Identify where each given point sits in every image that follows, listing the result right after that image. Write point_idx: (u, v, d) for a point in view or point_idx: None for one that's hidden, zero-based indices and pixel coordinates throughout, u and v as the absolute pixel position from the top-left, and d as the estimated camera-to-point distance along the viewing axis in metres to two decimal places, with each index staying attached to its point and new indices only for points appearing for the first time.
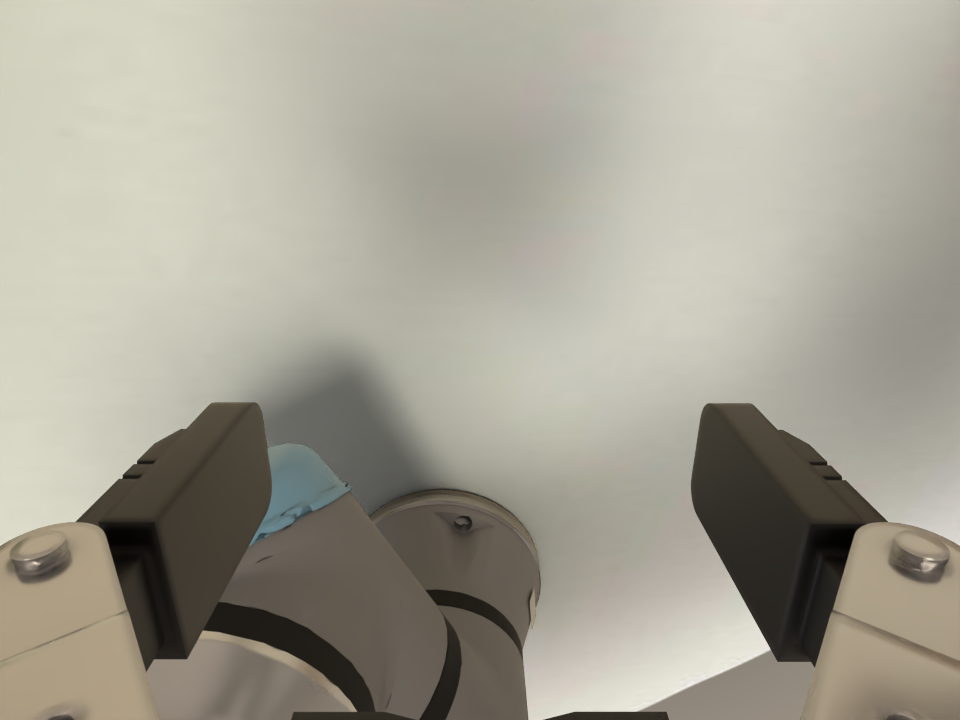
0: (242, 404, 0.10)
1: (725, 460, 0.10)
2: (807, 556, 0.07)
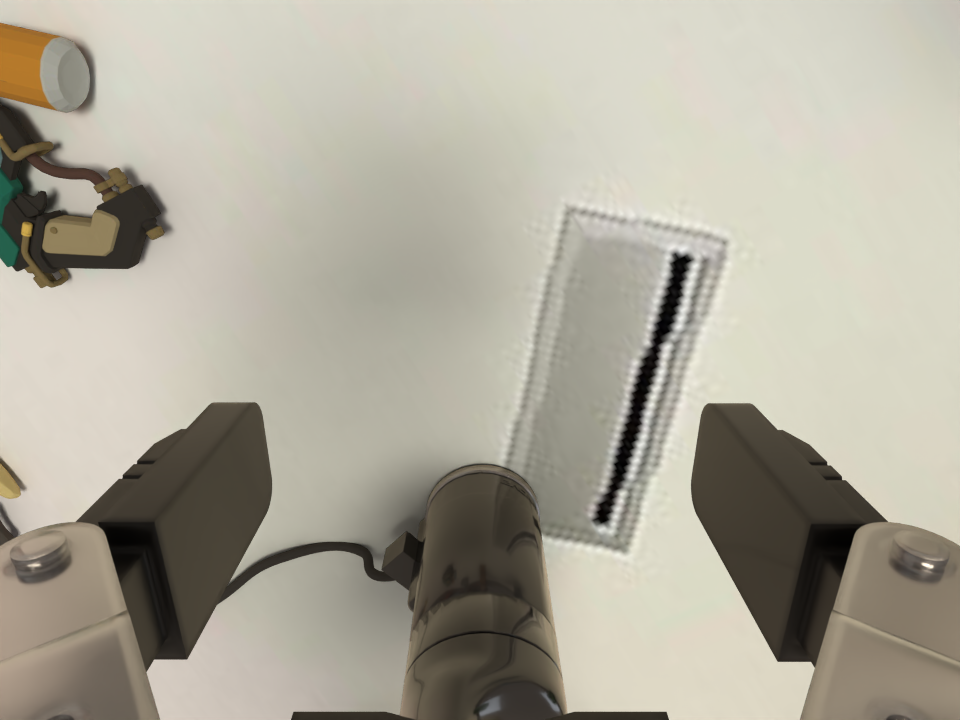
0: (242, 404, 0.10)
1: (725, 460, 0.10)
2: (807, 556, 0.07)
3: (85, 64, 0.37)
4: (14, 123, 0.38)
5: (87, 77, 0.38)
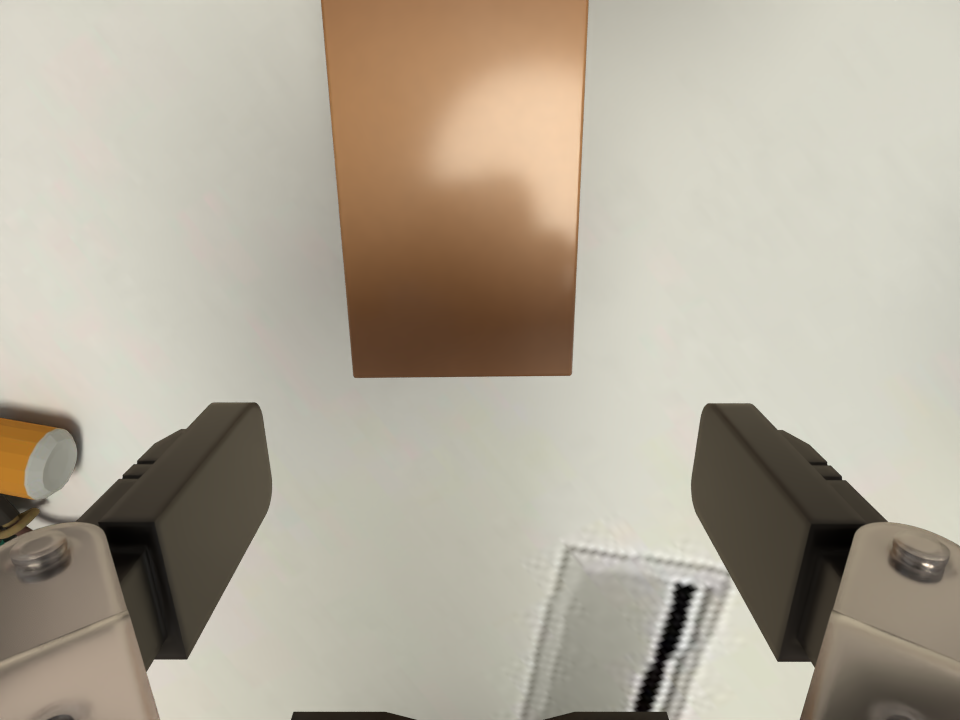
0: (242, 404, 0.10)
1: (725, 460, 0.10)
2: (807, 556, 0.07)
3: (72, 443, 0.37)
4: None
5: (74, 452, 0.37)
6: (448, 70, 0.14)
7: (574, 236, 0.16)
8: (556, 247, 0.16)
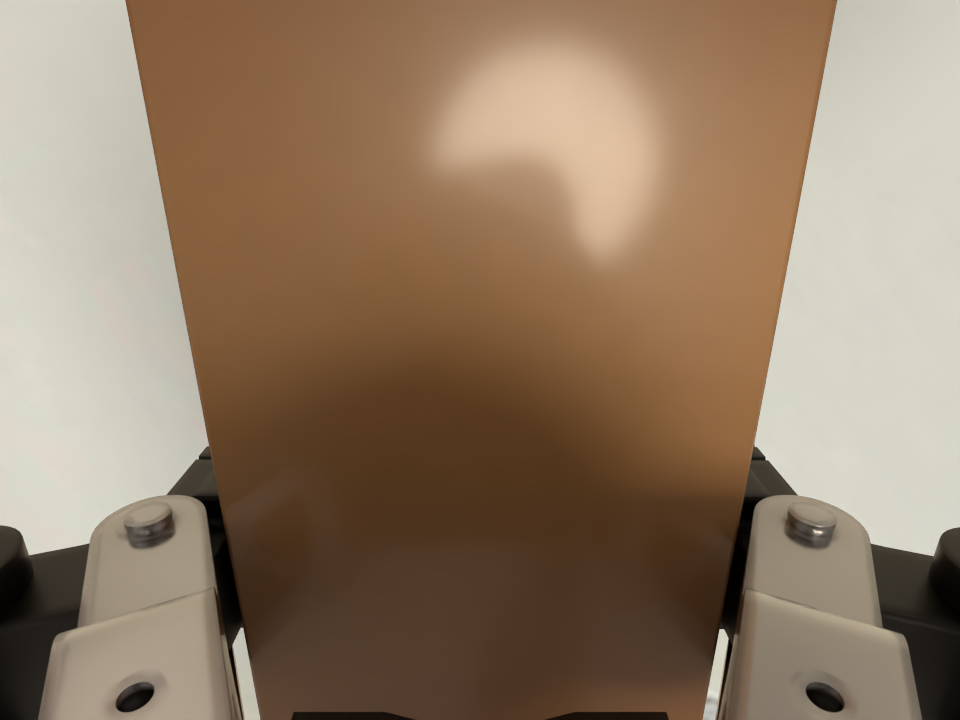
0: None
1: None
2: None
3: None
4: None
5: None
6: (461, 240, 0.06)
7: (726, 563, 0.07)
8: (686, 582, 0.07)
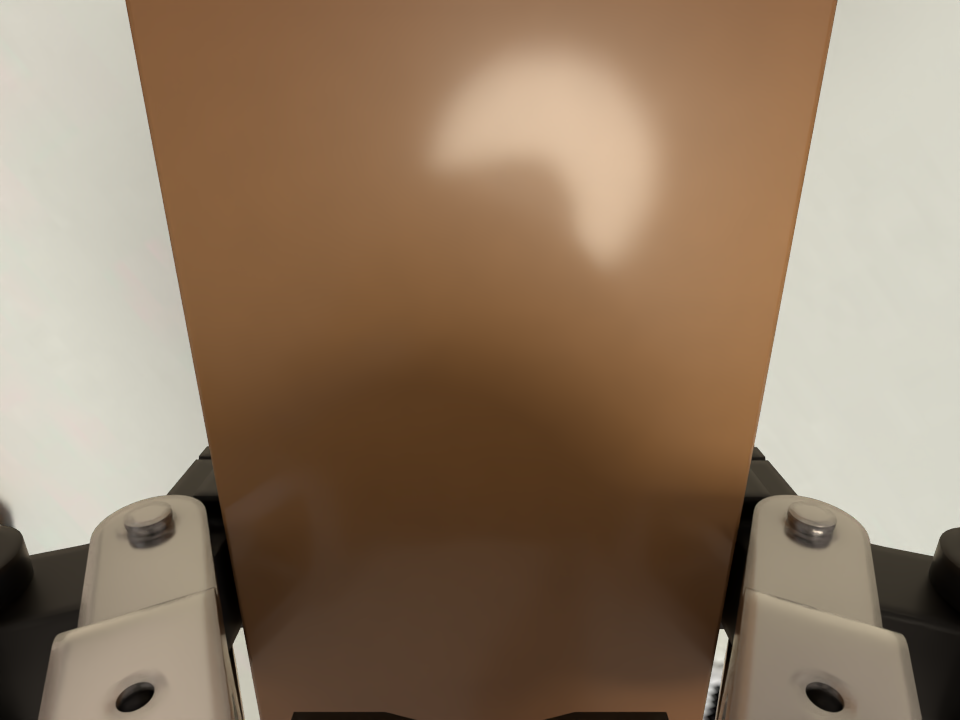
0: None
1: None
2: None
3: None
4: None
5: None
6: (461, 240, 0.06)
7: (726, 564, 0.07)
8: (686, 581, 0.07)
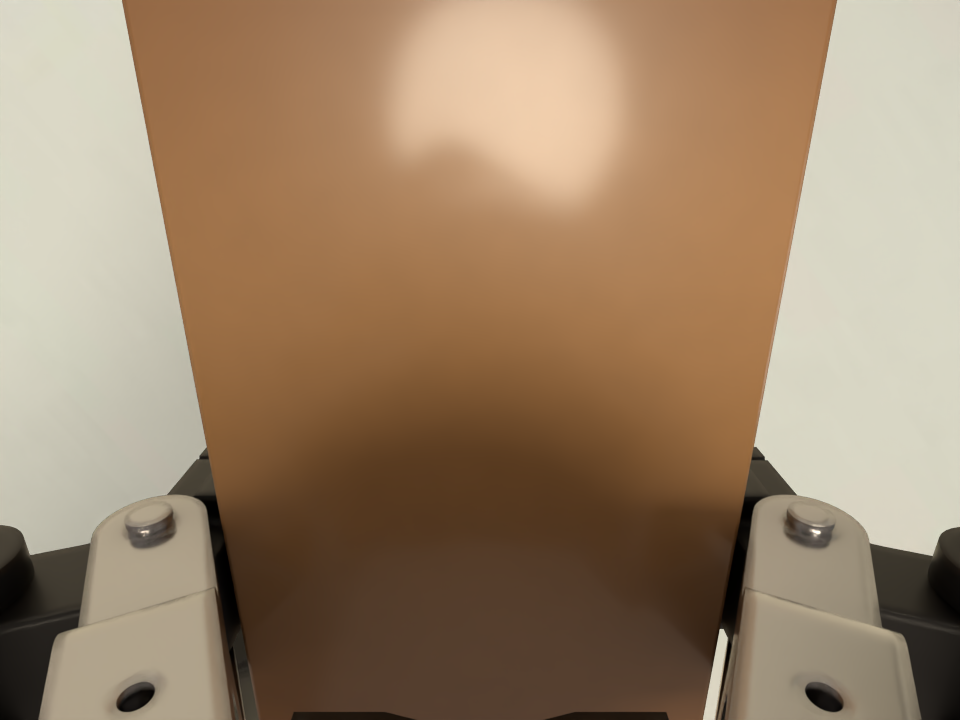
0: None
1: None
2: None
3: None
4: None
5: None
6: (460, 237, 0.06)
7: (726, 563, 0.07)
8: (685, 580, 0.07)
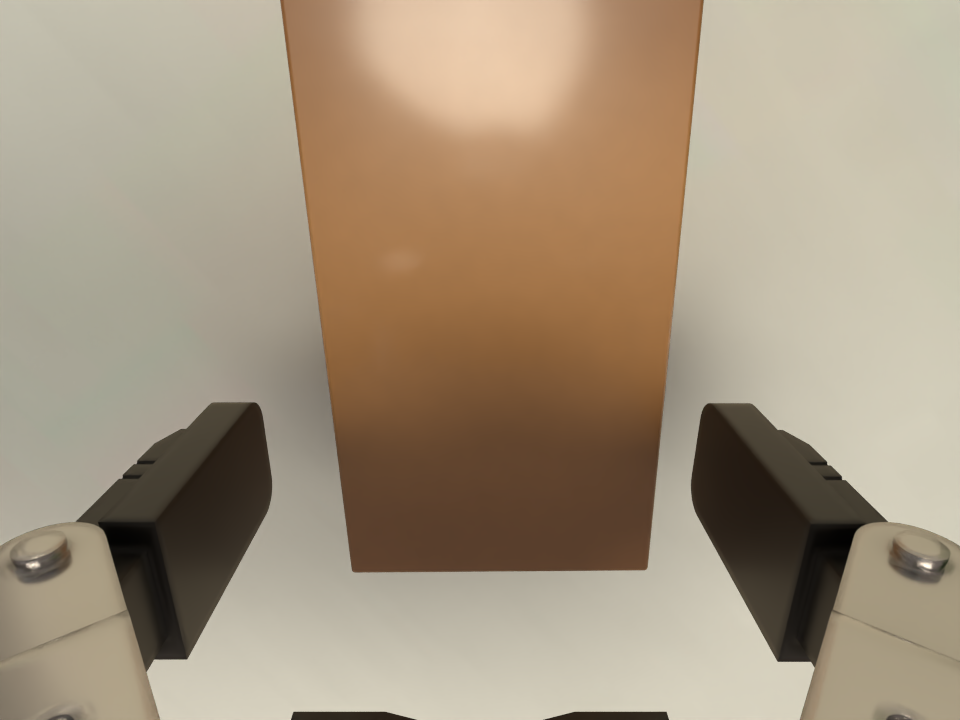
0: (242, 404, 0.10)
1: (725, 460, 0.10)
2: (807, 556, 0.07)
3: None
4: None
5: None
6: (481, 181, 0.10)
7: (659, 401, 0.11)
8: (633, 414, 0.11)
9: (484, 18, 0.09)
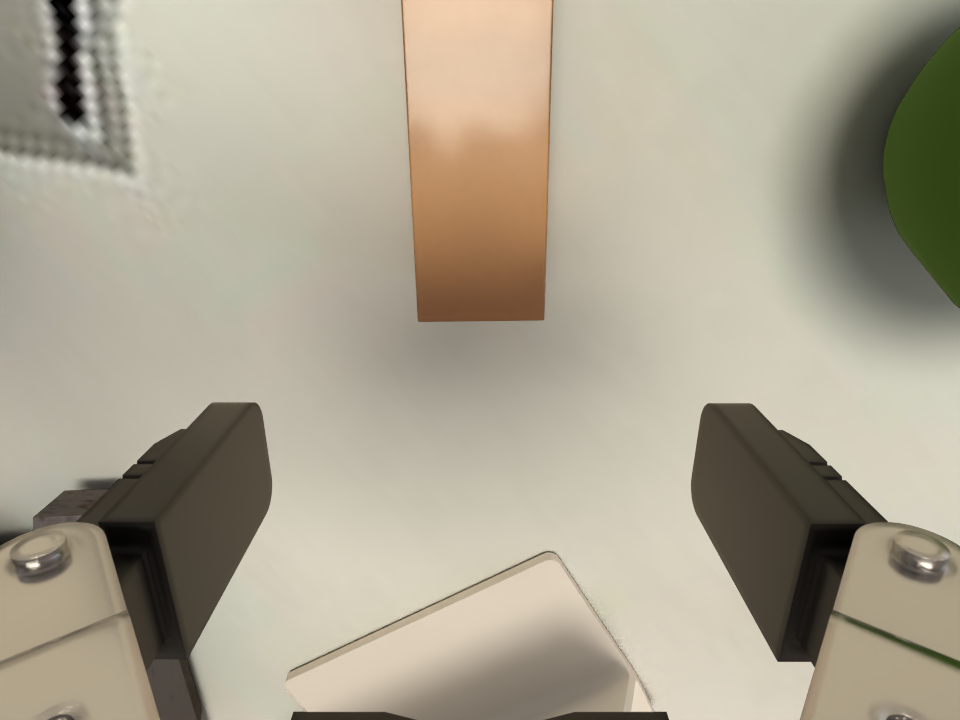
0: (242, 404, 0.10)
1: (725, 460, 0.10)
2: (807, 556, 0.07)
3: None
4: None
5: None
6: (474, 151, 0.27)
7: (544, 240, 0.28)
8: (534, 246, 0.28)
9: (475, 94, 0.26)
